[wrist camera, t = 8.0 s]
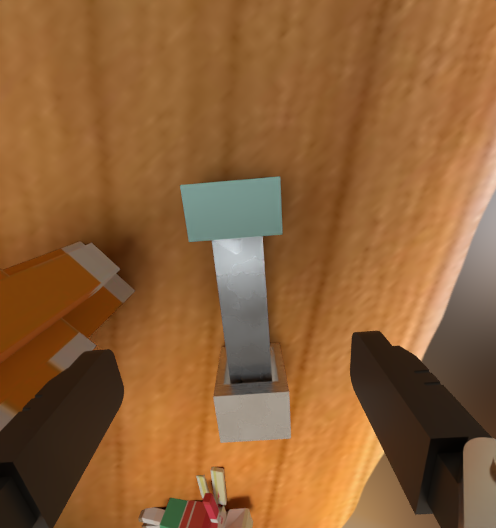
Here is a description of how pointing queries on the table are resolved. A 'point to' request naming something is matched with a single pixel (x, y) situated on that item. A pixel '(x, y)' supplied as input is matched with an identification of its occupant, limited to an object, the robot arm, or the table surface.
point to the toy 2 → (199, 509)
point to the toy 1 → (51, 317)
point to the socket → (232, 209)
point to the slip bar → (244, 308)
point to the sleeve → (253, 403)
